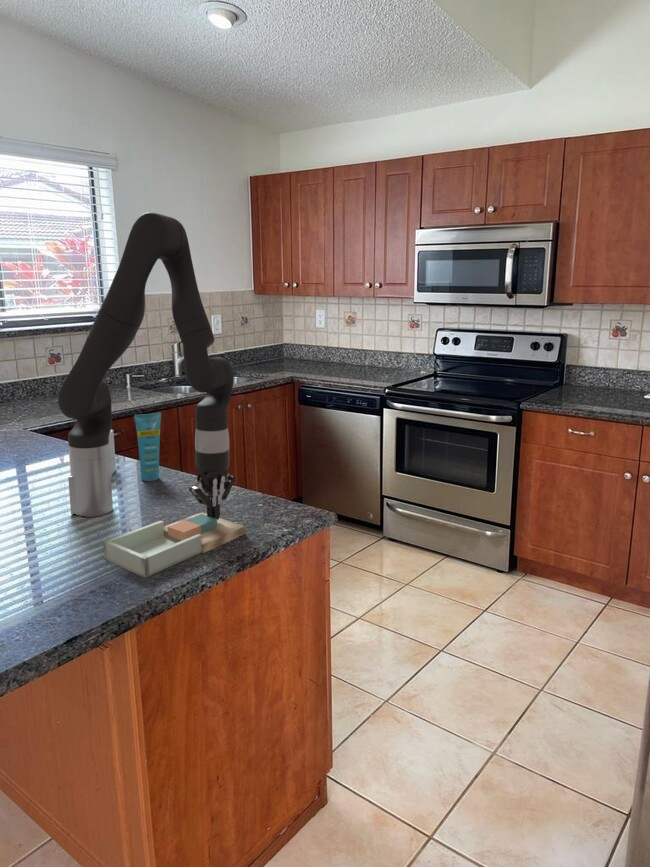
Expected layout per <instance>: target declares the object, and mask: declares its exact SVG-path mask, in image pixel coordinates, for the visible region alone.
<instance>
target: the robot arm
mask: <svg viewBox="0 0 650 867" xmlns="http://www.w3.org/2000/svg"><path fill="white" fill-rule="evenodd" d="M125 244H126V245H125V247H124V250H123V253H122V255H121V260H120V261H119V265H118V268H117V270H116V273H115V274H114V277H113V279H112V280H111V281H112V282H111V284H110V287H109V289H108V291H107V294H106V296H105V298H104V299H103V301H102V303H101V306H100V308H99V310H98V313H97V314H96V316H95V320H94V322H93V325H92V326H91V329H90V331H89V333H88V335H87V338H86V339H85V342H84V344H83V346H82V349H81V351H80V354H78V355H79V356H78V358H77V360H76V361H75V362H74V365H73V366H72V367H71V370H70V371H69V373H68V375H67V376H66V377H65V379H64V381H63V383H62V384H61V387H60V389H59V391H58V395H57V404H58V407H59V410H60V411H61V413H62V414H63V415H64V416H65V417H66V418H68V419H71V420H76V421H75V423H74V426H73V427H72V428H71V430H70V431H69V432H68V434H67V445H68V456H69V457H68V459H69V468H70V475H69V476H68V477H67V478H68V492H69V506H70V515H71V514H72V515H71V516H74V515H73V514H76V515H75V516H78V515H79V516H78V517H82V516H85V517H84V518H86V517H87V518H88V517H89V518H90V517H91V518H92V517H100V516H103V515H106V514H109V513H110V512H112V511H113V510H114V506H113V505H114V503H113V487H112V486H113V485H112V476H111V468H110V452H109V434H110V431H111V430H112V426H113V424H112V422H113V420H112V396H111V392H110V391H111V390H110V388H109V386H108V384H107V383H106V382H105V380H104V378H105V376H106V375H107V373H108V371H109V370H110V369H111V368H112V367H113V366H114V364H115V363H116V362H117V361H118V360H119V359H120V358H121V356H123V354H124V353H125V352H126V351H127V349H129V347H130V346H131V344H132V343H133V340H134V339H135V337H136V336H137V333H138V331H139V329H140V327H141V325H142V323H143V320H144V317H145V312H146V286H147V283H148V282H147V281H148V278H149V277H150V274H151V272H152V271H153V268H154V266H155V264H156V263H157V261H158V260H160V261H161V262H162V264H163V266H164V268H165V270H166V272H167V274H168V278H169V281H170V286H171V313H172V318H173V321H174V325H175V327H176V330H177V334H178V336H179V339H180V341H181V344H182V349H183V350H182V351H183V360H184V361H183V362H184V371H185V377H186V380H187V382H188V383H189V385H190V387H192V389H193V390H195V391H196V392H198V393H205V396H204V398H203V399H201V401H200V402H198V403H197V404H196V406H195V432H194V433H195V434H194V435H195V436H194V450H195V455H194V456H195V457H194V458H195V468H196V469H197V471H198V472H197V476H196V483H195V484H194V485H191V486H190V487H189V488H188V490H189V493H191V494H192V496H193V497H194V498H195V499H196V500H197V502H198V503H199V504H201V505H204V506H206V514H207V516H209V517H213V518H216V519H217V520H219V518H221V504H222V501H225V500H227V498H228V496H229V494H230V492H231V490H232V488H233V486H234V483H235V481H236V476H234V475H231V474H230V473H229V469H228V468H229V467H230V434H229V424H228V422H229V421H228V408H229V405H230V401H231V397H232V391H233V387H234V380H235V376H234V370H233V367H232V365H231V363H230V362H229V360H228V359H226V358H224V357H219V356H217V357H216V356H215V357H211V358H209V355H208V354H209V353H208V352H209V351H208V348H209V347H210V346H212V345H213V344H214V342H215V335H214V333H213V330H212V327H211V323H210V321H209V319H208V316H207V314H206V310H205V308H204V305H203V302H202V298H201V295H200V290H199V287H198V282H197V278H196V274H195V273H196V272H195V269H194V264H193V260H192V254H191V247H190V244H189V238H188V235H187V232H186V229H185V227H184V225H183V223H181V221H179V220H178V219H176V218H174V217H171V216H168V215H164V214H161V213H157V212H153V211H152V212H149V211H148V212H144V213H143V214H141V215H139V216H138V217H137V219H136V220H135V221H134V223H133V225H132V227H131V229H130V232H129V235H128V238H127V240H126V243H125Z"/></svg>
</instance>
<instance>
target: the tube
mask: <svg viewBox="0 0 650 867" xmlns="http://www.w3.org/2000/svg"><path fill="white" fill-rule="evenodd" d="M133 415H134V416H133V417H134V423H135V428H136V436H137V444H138V447H137V448H138V454H139V456H138V457H139V467H140V477H141V478H140V479H141V481H145V482H153V481H157V480H158V479H160V439H161V437H160V436H161V421H162V412H154V413H145V414H143V413H142V414H133Z"/></svg>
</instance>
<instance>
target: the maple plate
mask: <svg viewBox="0 0 650 867" xmlns="http://www.w3.org/2000/svg"><path fill="white" fill-rule="evenodd" d="M200 514H203V515H206V516H207V512H206V513H205V512H199V513H196V514H194V515H190V516H188V517H186V518H182V519H180V520H178V521H177V520H176V521H175V522H172V523H170V524H166V525H164V536H165V537H168V538H170V539H173V540H175V541H178V542H180V541H182V540H179V539H177V538H174V537H171V536H168V527H169V526H171V525H174V524H177V523H179V522H182V521H184V520H187V519H190V518H192V517H195V516H197V515H200ZM244 534H245V535H246V525H242V524H239V523H235V522H233V521H230V520H227V519H224V518H222V517H219V520H217V528H214V529H212V530H210V531H207V532H205V533H203V534H200V535H202V553H201V554H205V553H207V552H209V551H212V550H213V549H216V548H218V547H220V546H223V545H224V544H227V543H229V542H232V541H234V540H236V539H238V538H240V537H239V536H241V537H242V535H243V536H245V535H244ZM237 537H238V538H237ZM235 538H236V539H235ZM233 539H234V540H233ZM231 540H232V541H231Z"/></svg>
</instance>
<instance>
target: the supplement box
mask: <svg viewBox="0 0 650 867" xmlns="http://www.w3.org/2000/svg"><path fill="white" fill-rule="evenodd" d="M114 436H115V433H114V429H111V431H110V434H109V452H110V468H111V477H112V476H113V475H114V473H115V472H116V471H117V468H116V467H117V466H116V453H115V452H116V451H115V449H116V448H115V437H114Z"/></svg>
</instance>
